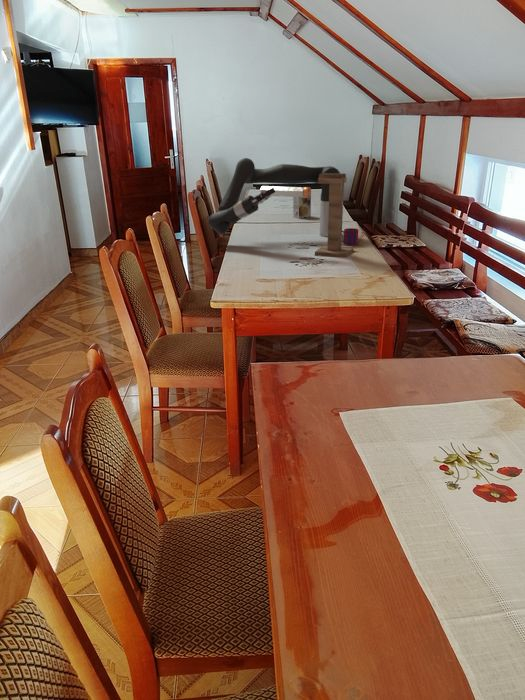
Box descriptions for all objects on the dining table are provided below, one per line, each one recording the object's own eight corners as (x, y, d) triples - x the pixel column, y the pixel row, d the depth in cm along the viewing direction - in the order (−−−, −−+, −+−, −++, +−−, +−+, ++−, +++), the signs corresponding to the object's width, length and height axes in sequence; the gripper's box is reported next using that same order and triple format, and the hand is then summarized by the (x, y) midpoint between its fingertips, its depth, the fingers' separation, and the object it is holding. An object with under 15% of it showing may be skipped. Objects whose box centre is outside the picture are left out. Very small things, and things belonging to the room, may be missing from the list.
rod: (264, 192, 243) (262, 183, 240) (311, 194, 236) (310, 185, 233) (260, 197, 241) (259, 188, 238) (308, 199, 233) (307, 190, 230)
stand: (323, 248, 247) (325, 172, 234) (353, 250, 242) (357, 172, 229) (314, 255, 235) (316, 175, 222) (345, 257, 230) (349, 176, 217)
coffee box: (304, 215, 332) (305, 188, 325) (311, 217, 327) (311, 189, 320) (292, 217, 327) (292, 189, 321) (298, 218, 322) (299, 190, 316)
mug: (357, 245, 252) (358, 231, 249) (336, 245, 253) (336, 230, 251) (357, 242, 258) (358, 228, 255) (336, 242, 259) (337, 228, 257)
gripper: (235, 202, 240) (266, 183, 231) (248, 197, 252) (277, 179, 243) (243, 217, 241) (274, 198, 232) (255, 212, 253) (285, 194, 244)
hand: (275, 189), depth 238 cm, fingers closed on rod, 4 cm apart
